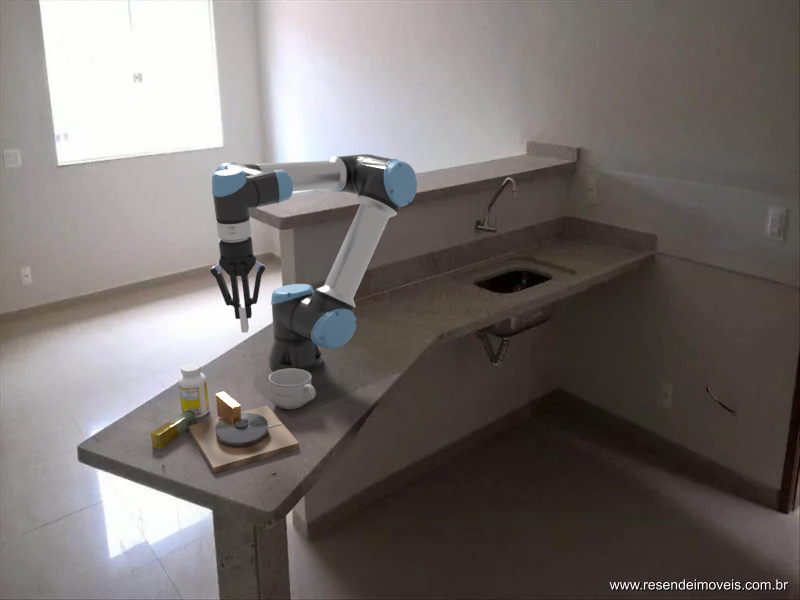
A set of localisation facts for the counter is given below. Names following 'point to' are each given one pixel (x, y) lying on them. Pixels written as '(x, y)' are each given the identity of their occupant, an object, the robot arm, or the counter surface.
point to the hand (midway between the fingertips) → (245, 330)
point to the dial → (238, 424)
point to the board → (233, 457)
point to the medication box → (172, 429)
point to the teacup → (291, 388)
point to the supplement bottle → (193, 390)
